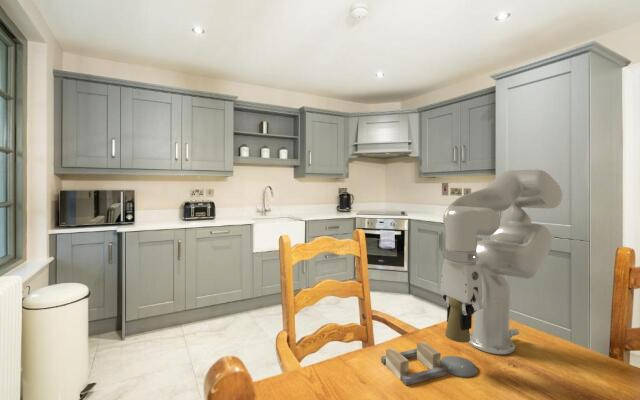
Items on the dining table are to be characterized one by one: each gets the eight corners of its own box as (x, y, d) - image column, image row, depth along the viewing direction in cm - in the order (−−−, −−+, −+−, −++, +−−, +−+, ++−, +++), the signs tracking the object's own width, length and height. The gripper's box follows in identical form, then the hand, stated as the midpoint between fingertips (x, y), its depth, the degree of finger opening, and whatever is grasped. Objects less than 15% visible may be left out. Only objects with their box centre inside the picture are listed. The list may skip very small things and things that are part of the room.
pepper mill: (472, 343, 80) (475, 300, 80) (447, 340, 81) (450, 298, 81) (466, 333, 86) (469, 293, 86) (443, 330, 87) (445, 290, 87)
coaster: (458, 355, 90) (458, 353, 90) (485, 372, 82) (485, 370, 82) (432, 361, 87) (432, 359, 87) (458, 380, 79) (458, 378, 78)
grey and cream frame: (418, 353, 91) (418, 338, 91) (446, 374, 81) (446, 357, 81) (381, 361, 87) (381, 345, 87) (405, 385, 77) (406, 367, 76)
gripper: (499, 262, 77) (497, 337, 77) (448, 249, 92) (446, 311, 93) (475, 264, 74) (473, 342, 75) (427, 251, 89) (425, 315, 90)
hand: (458, 324), depth 84 cm, fingers closed on pepper mill, 3 cm apart
